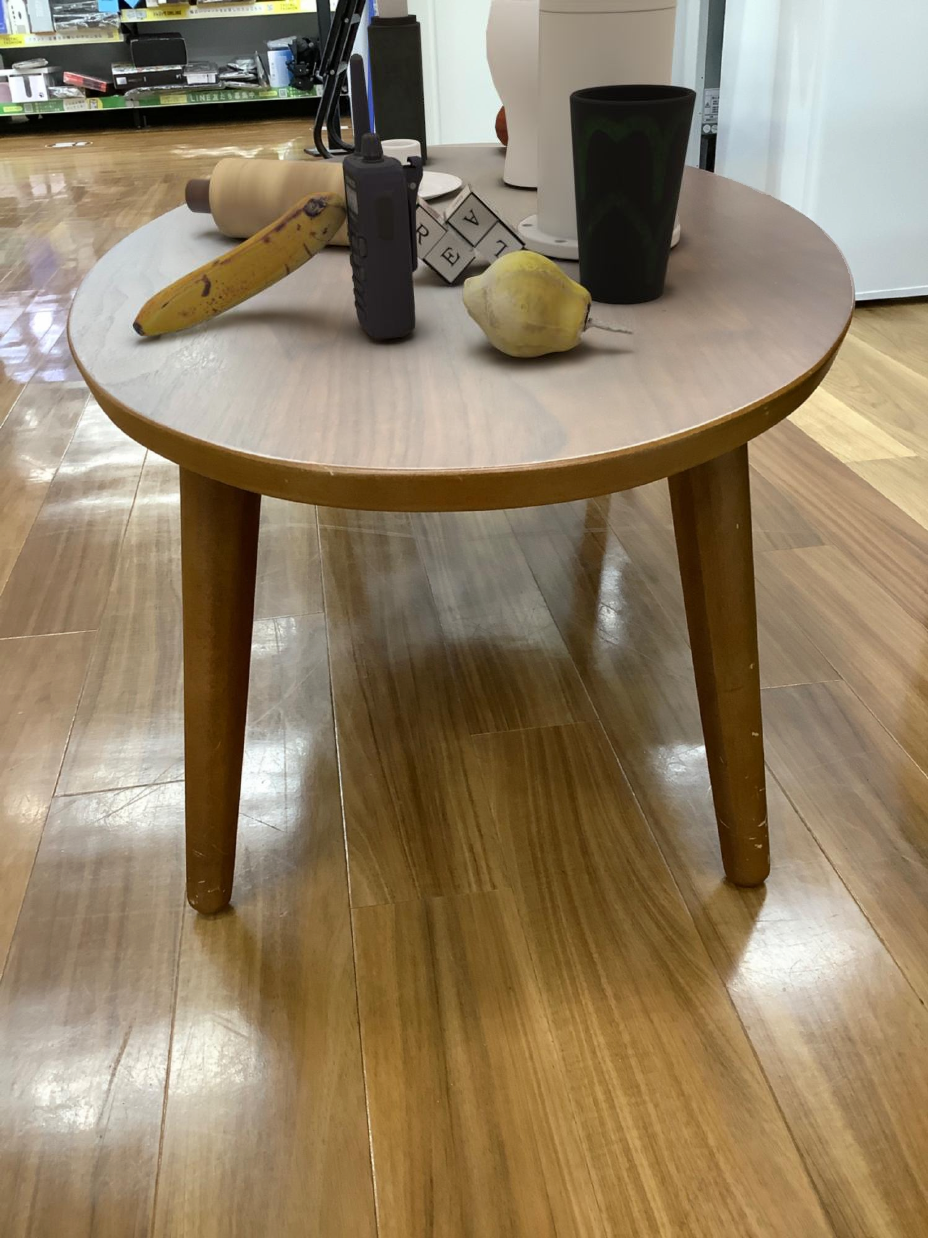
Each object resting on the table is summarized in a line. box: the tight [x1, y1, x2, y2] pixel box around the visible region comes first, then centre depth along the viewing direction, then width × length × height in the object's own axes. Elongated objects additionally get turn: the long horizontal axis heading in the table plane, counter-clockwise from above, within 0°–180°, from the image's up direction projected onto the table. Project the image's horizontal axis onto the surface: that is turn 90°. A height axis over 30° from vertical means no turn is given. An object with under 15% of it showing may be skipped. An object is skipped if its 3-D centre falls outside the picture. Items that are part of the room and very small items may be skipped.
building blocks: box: [416, 182, 526, 287], centre depth 71 cm, size 5×5×8 cm
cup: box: [569, 84, 697, 305], centre depth 65 cm, size 8×8×12 cm
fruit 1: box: [132, 192, 347, 337], centre depth 61 cm, size 15×9×3 cm
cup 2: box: [485, 0, 539, 188], centre depth 92 cm, size 11×11×15 cm
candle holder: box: [381, 139, 463, 201], centre depth 94 cm, size 12×12×4 cm
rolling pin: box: [184, 157, 350, 247], centre depth 80 cm, size 19×6×6 cm, turn 69°
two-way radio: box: [341, 53, 424, 341], centre depth 58 cm, size 6×4×15 cm
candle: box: [366, 0, 428, 166], centre depth 100 cm, size 5×5×25 cm
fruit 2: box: [462, 249, 634, 358], centre depth 58 cm, size 6×6×10 cm
